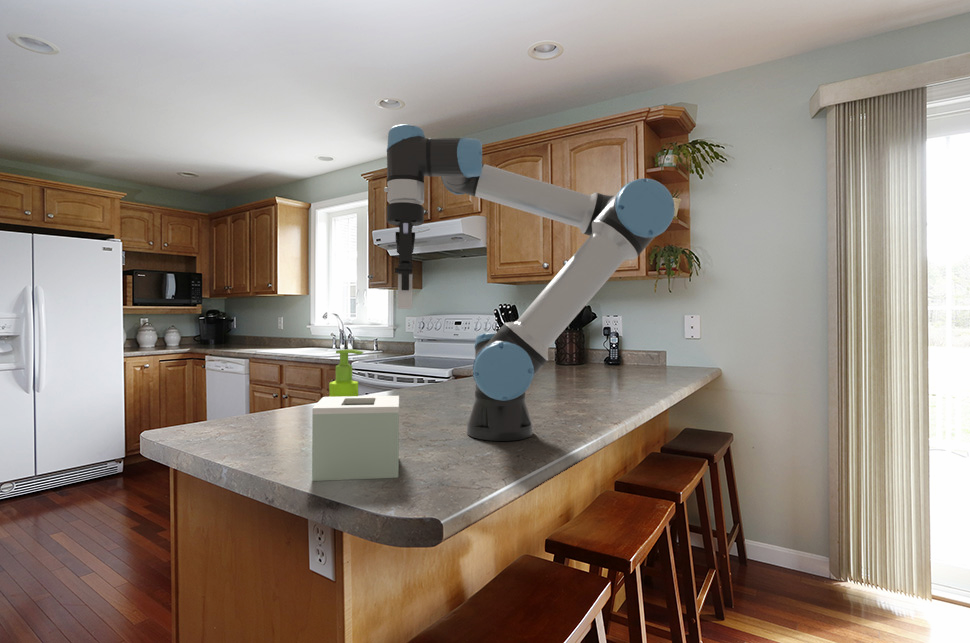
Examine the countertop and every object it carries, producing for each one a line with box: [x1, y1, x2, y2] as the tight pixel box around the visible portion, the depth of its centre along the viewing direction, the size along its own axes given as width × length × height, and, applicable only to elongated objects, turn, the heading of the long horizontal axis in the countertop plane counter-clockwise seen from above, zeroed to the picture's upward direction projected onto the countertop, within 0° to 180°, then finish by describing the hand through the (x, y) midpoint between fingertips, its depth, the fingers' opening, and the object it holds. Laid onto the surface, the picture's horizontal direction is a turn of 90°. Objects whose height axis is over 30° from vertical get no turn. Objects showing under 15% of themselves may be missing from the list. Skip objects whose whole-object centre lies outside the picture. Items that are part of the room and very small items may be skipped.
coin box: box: [311, 395, 400, 482], centre depth 94 cm, size 14×12×12 cm
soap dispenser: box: [328, 348, 364, 397], centre depth 111 cm, size 6×7×20 cm
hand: (404, 308), depth 109 cm, fingers open, 13 cm apart
